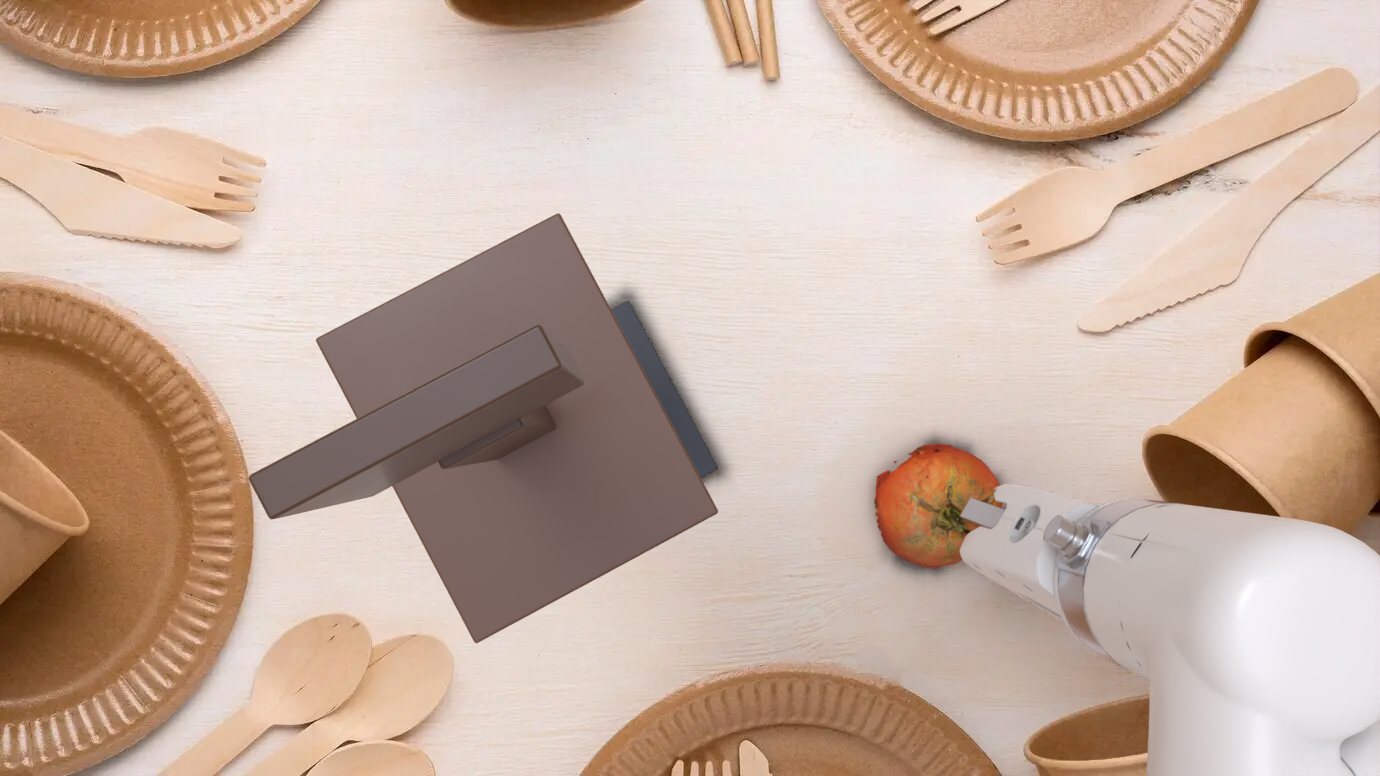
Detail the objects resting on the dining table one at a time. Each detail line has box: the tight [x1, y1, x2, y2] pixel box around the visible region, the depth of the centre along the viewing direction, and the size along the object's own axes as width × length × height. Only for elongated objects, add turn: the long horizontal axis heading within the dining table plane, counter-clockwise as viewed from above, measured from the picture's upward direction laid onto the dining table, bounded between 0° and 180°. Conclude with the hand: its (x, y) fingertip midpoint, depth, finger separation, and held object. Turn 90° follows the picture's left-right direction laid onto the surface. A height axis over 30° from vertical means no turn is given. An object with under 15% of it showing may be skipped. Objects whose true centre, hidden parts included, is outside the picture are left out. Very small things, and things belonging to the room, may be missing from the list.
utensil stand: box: [248, 212, 719, 644], centre depth 42 cm, size 12×12×50 cm
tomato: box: [873, 443, 1004, 569], centre depth 66 cm, size 8×7×7 cm
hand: (1008, 543), depth 65 cm, fingers closed
